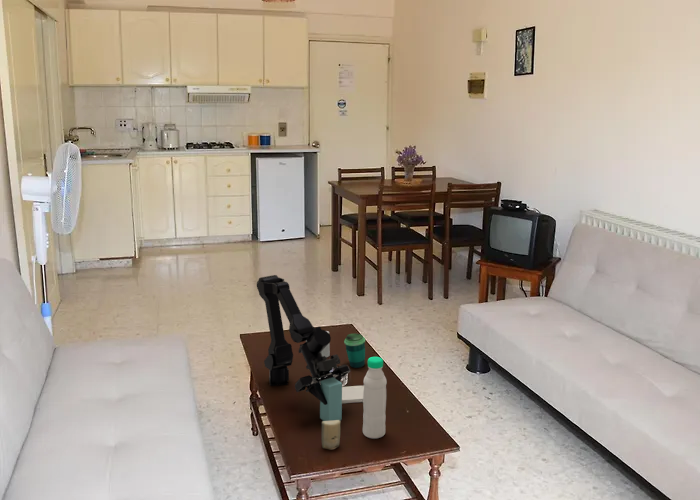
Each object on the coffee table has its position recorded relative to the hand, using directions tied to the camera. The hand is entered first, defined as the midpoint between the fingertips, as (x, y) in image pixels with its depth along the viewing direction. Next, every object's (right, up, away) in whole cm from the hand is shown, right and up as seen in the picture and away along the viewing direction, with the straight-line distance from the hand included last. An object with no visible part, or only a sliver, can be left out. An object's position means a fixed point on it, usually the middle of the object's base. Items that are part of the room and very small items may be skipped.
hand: (333, 402), depth 205 cm
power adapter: (0, -10, -13) cm, 16 cm away
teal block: (-1, -6, +3) cm, 7 cm away
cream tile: (+6, -2, +19) cm, 20 cm away
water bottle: (+13, -9, -6) cm, 16 cm away
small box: (-8, +6, +52) cm, 53 cm away
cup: (+7, +4, +44) cm, 44 cm away
